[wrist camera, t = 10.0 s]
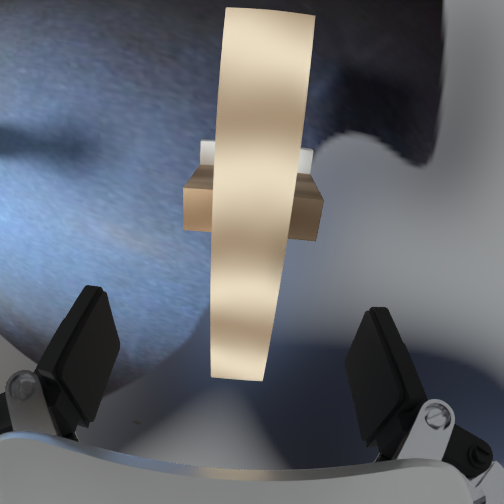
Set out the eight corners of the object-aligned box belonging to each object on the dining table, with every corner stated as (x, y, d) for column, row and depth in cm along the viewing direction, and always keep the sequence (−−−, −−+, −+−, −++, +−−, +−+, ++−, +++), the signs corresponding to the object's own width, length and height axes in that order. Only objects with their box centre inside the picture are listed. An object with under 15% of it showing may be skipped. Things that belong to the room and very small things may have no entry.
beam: (233, 23, 14) (226, 7, 10) (303, 30, 14) (315, 16, 11) (216, 340, 26) (211, 376, 23) (262, 344, 26) (262, 381, 23)
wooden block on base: (202, 139, 24) (183, 157, 18) (312, 149, 24) (329, 170, 18) (200, 215, 28) (184, 255, 22) (300, 224, 28) (310, 265, 22)
